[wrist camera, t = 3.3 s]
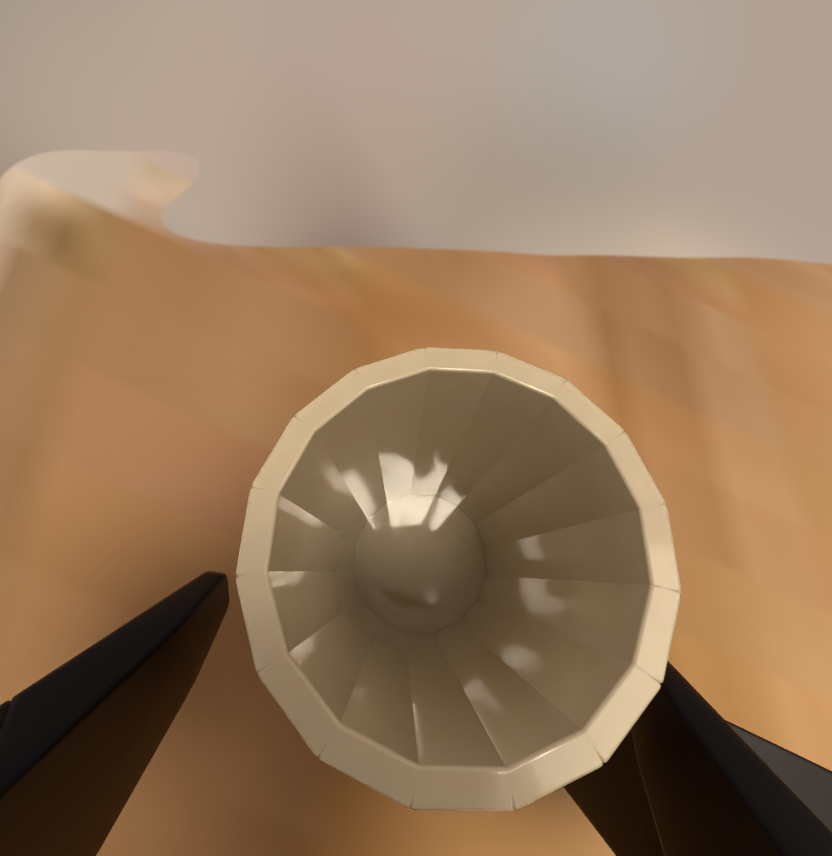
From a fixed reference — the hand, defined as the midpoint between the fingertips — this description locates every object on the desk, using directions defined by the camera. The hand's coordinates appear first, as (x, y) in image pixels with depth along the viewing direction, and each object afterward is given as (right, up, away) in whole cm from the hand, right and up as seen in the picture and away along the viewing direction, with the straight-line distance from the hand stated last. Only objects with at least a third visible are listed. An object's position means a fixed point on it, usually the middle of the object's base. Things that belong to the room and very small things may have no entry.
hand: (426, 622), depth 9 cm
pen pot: (0, -2, +9) cm, 9 cm away
